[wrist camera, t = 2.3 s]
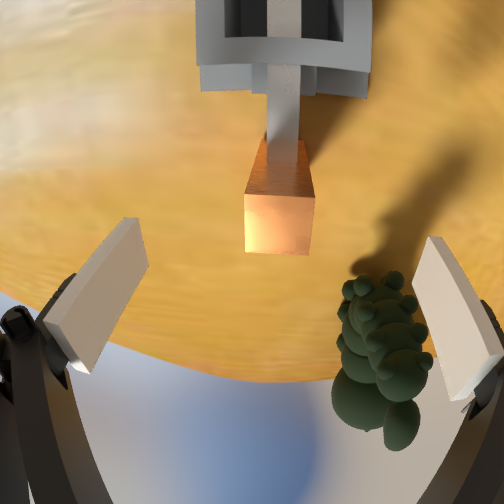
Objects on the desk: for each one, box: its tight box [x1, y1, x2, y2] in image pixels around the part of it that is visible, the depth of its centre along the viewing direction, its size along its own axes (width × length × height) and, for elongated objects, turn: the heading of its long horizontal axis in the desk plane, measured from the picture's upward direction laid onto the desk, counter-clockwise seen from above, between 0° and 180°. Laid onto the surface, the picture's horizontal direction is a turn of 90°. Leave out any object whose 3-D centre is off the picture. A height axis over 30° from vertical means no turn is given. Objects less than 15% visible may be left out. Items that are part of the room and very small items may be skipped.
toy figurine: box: [331, 270, 433, 451], centre depth 26 cm, size 9×19×25 cm
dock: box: [196, 0, 372, 99], centre depth 13 cm, size 12×12×7 cm
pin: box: [244, 0, 315, 256], centre depth 15 cm, size 3×16×10 cm, turn 0°
